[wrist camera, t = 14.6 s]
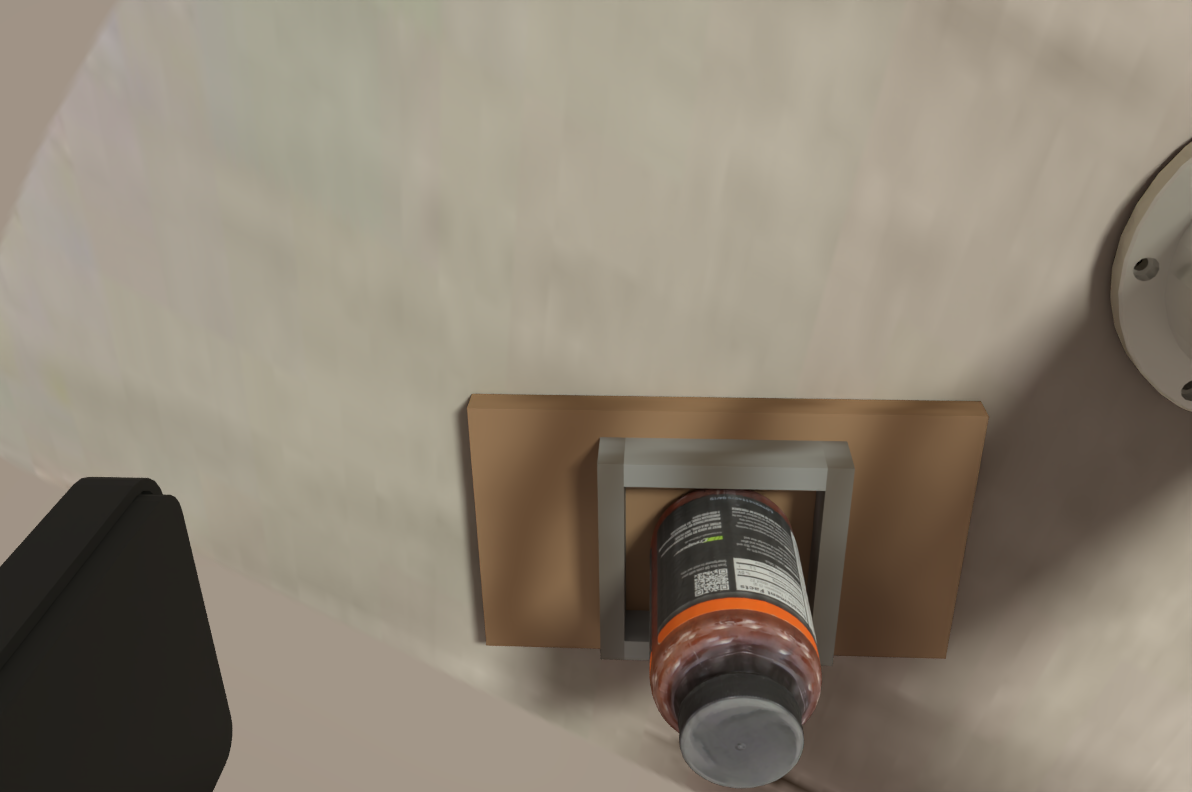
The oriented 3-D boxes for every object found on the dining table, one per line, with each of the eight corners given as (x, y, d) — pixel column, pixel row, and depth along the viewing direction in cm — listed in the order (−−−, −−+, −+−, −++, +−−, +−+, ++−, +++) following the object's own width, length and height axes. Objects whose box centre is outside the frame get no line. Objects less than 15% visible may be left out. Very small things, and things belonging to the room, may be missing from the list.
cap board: (980, 401, 42) (1002, 443, 39) (939, 639, 48) (956, 691, 45) (471, 393, 43) (457, 434, 40) (490, 627, 49) (479, 677, 46)
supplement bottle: (722, 619, 46) (737, 839, 36) (620, 540, 45) (607, 747, 35) (826, 538, 44) (873, 749, 34) (723, 451, 42) (741, 646, 32)
